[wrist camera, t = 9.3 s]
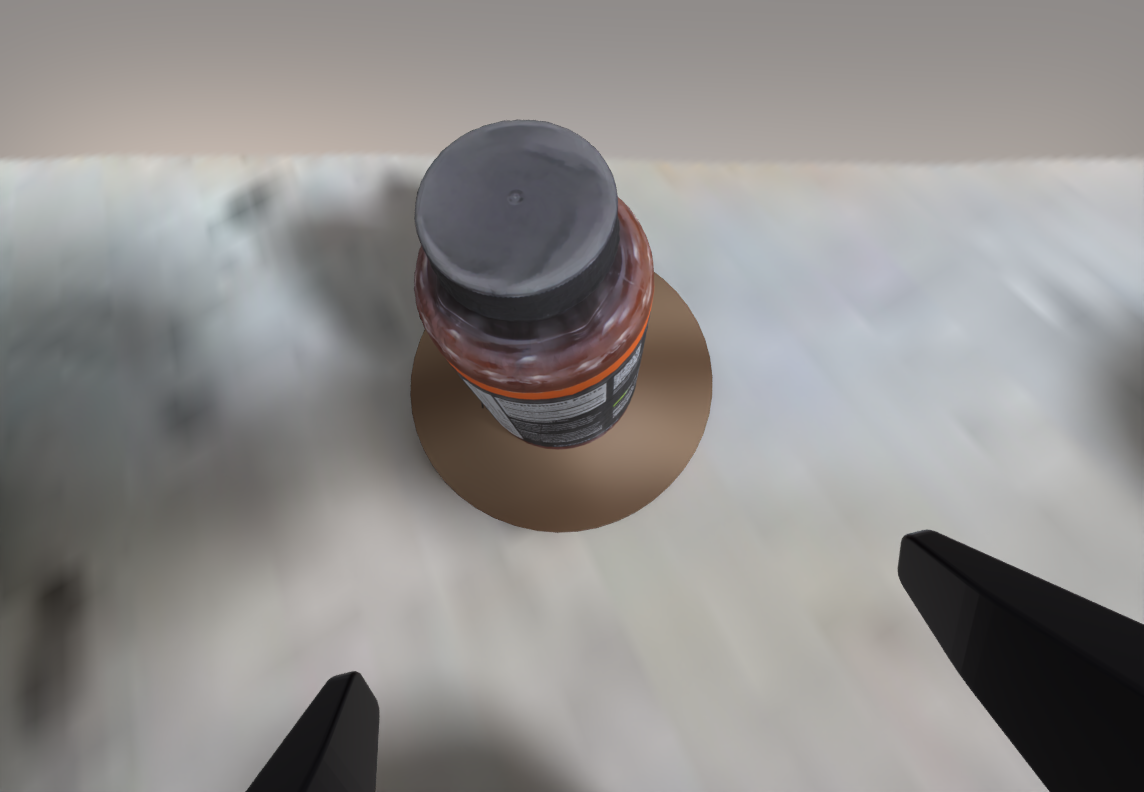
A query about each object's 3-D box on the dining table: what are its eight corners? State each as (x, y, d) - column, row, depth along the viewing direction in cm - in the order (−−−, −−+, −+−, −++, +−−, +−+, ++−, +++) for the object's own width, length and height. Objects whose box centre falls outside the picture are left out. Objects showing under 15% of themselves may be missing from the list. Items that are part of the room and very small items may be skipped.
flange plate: (748, 488, 20) (821, 456, 14) (445, 566, 20) (367, 574, 13) (656, 221, 24) (677, 91, 17) (398, 285, 24) (317, 179, 17)
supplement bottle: (498, 305, 22) (398, 64, 11) (641, 318, 21) (683, 78, 11) (473, 445, 20) (328, 323, 9) (628, 462, 20) (660, 354, 9)
